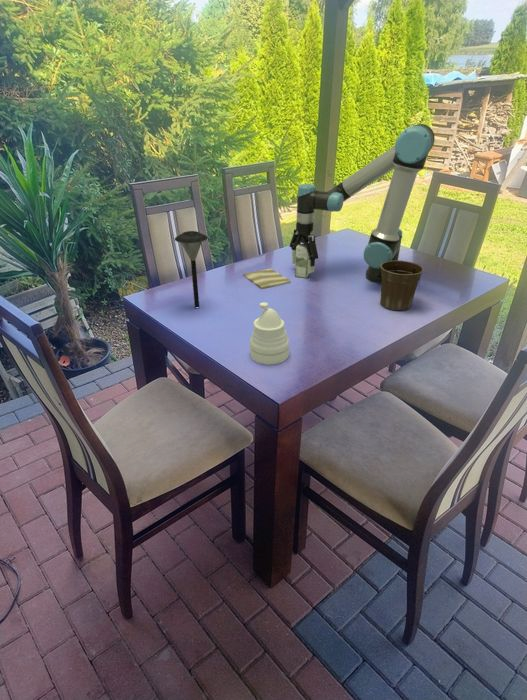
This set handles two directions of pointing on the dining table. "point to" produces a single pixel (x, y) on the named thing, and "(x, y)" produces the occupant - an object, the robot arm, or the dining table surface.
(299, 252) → the syrup box
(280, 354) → the honey pot
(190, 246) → the solar garden light
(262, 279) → the birch board
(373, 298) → the dining table surface
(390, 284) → the plant pot
